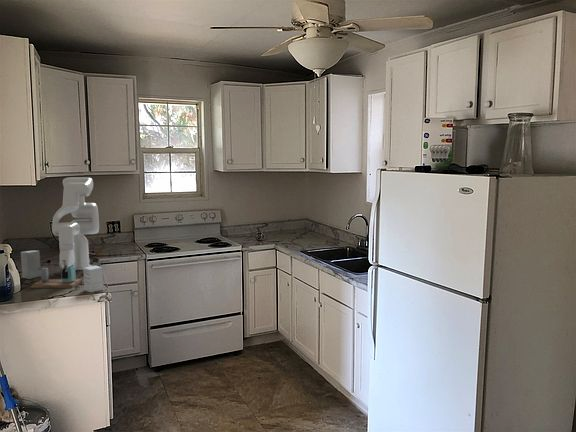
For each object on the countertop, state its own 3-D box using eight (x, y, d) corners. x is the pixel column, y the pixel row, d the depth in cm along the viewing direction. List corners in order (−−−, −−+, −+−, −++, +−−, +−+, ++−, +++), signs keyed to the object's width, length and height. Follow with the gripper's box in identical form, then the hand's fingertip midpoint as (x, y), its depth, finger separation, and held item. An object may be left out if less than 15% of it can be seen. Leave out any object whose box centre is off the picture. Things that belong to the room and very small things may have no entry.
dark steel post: (43, 281, 267) (43, 267, 266) (48, 281, 267) (48, 267, 266) (41, 282, 265) (40, 268, 264) (46, 282, 265) (45, 268, 264)
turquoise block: (65, 278, 269) (65, 265, 268) (75, 278, 269) (75, 265, 269) (61, 281, 264) (60, 268, 263) (71, 281, 264) (71, 268, 263)
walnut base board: (43, 281, 273) (42, 279, 273) (81, 281, 274) (81, 278, 274) (31, 288, 259) (31, 285, 259) (72, 287, 260) (72, 285, 260)
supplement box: (97, 287, 261) (95, 265, 260) (103, 289, 256) (102, 267, 255) (84, 290, 256) (82, 267, 254) (90, 292, 251) (89, 269, 249)
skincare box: (29, 279, 278) (27, 252, 276) (21, 277, 281) (19, 251, 279) (42, 276, 285) (40, 250, 283) (34, 274, 288) (32, 249, 287)
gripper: (66, 243, 273) (68, 272, 275) (53, 249, 255) (55, 280, 258) (79, 243, 273) (81, 272, 275) (67, 249, 256) (69, 280, 258)
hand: (68, 276), depth 266 cm, fingers open, 9 cm apart
